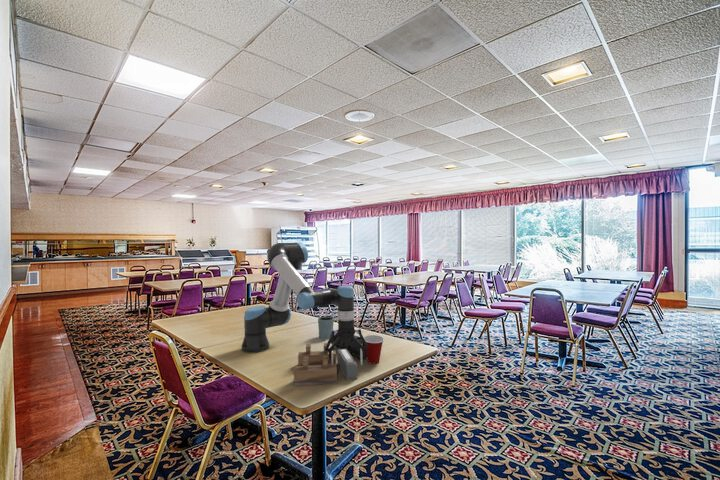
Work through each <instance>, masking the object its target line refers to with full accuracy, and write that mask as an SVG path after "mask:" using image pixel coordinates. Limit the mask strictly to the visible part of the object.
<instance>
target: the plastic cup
mask: <svg viewBox="0 0 720 480" xmlns="http://www.w3.org/2000/svg"><path fill="white" fill-rule="evenodd" d="M363 337H364V339H365V341H366V343H367V345H368V349H366V355H367V358H366V360H367V363H369V364H379V363H380V360H381V355H382V354H381V353H382V347H383V342H384V340H385V337H383V336H381V335H376V334H368V335H365V336H363Z"/></svg>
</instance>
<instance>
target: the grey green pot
mask: <svg viewBox="0 0 720 480" xmlns="http://www.w3.org/2000/svg"><path fill="white" fill-rule="evenodd" d="M334 322H335V318H334V317H333V316H332V317H331V316H320V317H318V318H317V323H318V325H317V326H318V338H319V339H320V340H329V336H330V334H331V332H332V330H334V324H335V323H334Z"/></svg>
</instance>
